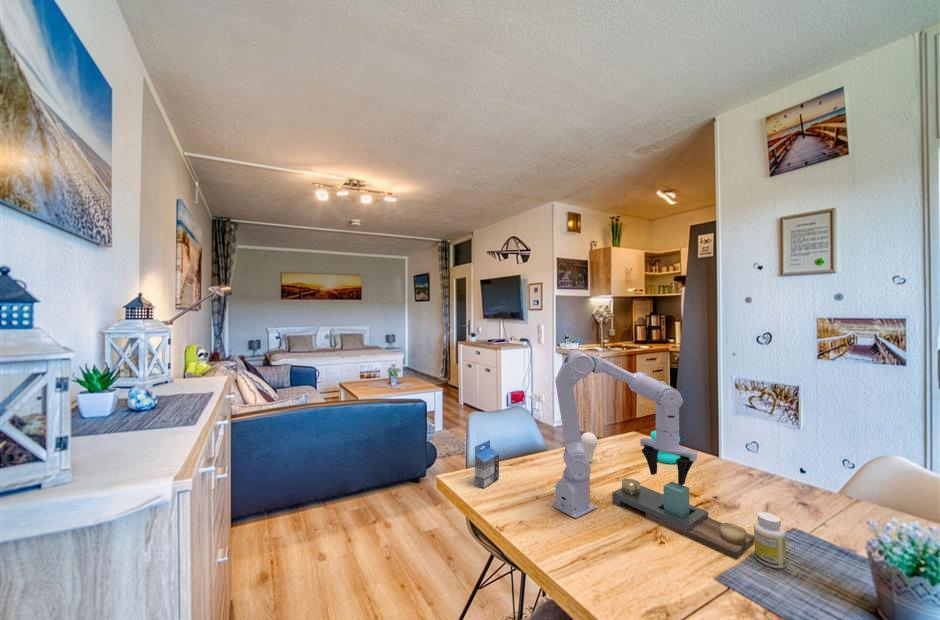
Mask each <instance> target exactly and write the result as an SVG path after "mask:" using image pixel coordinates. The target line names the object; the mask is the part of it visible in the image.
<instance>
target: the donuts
mask: <svg viewBox="0 0 940 620" xmlns="http://www.w3.org/2000/svg"><path fill="white" fill-rule="evenodd" d="M649 436H650V439H652V440H656V429H654V430H653V431H651V432H650V435H649ZM680 442H681V436H679V443H680ZM678 458H680V456H676V455H673V454H670V453H667V452H663V451H660V450H659V452H658V458H657V462H658V463H659V462H660V463H662V464H668V463H670V464H672V465H673V463H674V464H677V463H676V459H678Z"/></svg>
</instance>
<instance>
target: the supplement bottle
mask: <svg viewBox="0 0 940 620" xmlns="http://www.w3.org/2000/svg"><path fill="white" fill-rule="evenodd" d="M781 522H782V521H781V518H780V517H779V516H777V515H775V514H773V513H770V512H761V511H760V512H758V513H757V522H755V523H754V525H753V530H754V531H753V533H754V535H753V536H754V543H753V544H754V557H755V559H756V560H757V561H758V562H760V563H761V564H763V565H764V566H767V567H770V568H772V569H783V568H785V567H786V565H787V562H786V559H787V556H786V554H787V553H786V533H785V531H784V530H783V529H782V528H781V525H782V524H781Z"/></svg>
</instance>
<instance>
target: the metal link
mask: <svg viewBox="0 0 940 620" xmlns="http://www.w3.org/2000/svg"><path fill="white" fill-rule="evenodd" d="M611 494H612V495H611V501H612V502H611V503H612V504H614V505H616V506H619V507H622V506H624V505H625V504H626V505H628V506H630V507H632V508H635V509H637V510H639V511H642V512H644V513H645V514H646V513H648V514H650V515H653V516H655V517H657V518H659V519H662V520H664V521H666V522H668V523H671V524H673V525H675V526H677V527H680V528H682V529H684V530H686V531H688V532H689V531H691V530H692V529H693V528H695V527H696V526H697V525H699V524H700V523H702V522H703V521H704V520H706V519H707V518H709V511H708V510H705V509H702V508H699V507H698V506H695V505H692V504H690V503H689V514H691V515H689V516H688V517H686V518H685V519H683V518H680V517H678V516H676V515H673V514H671V513H669V512H666V511H664V493H661V492H658V491H656V490H654V489H651V488H649V487H647V486H644V485H641V482H639V481H638V480H636V479H634V478H623V479H622V480H621V487H620V488H619V489H616V490H614V491H612V493H611Z"/></svg>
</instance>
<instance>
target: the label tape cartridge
mask: <svg viewBox="0 0 940 620" xmlns="http://www.w3.org/2000/svg"><path fill="white" fill-rule="evenodd" d="M498 480H500V454H499V453H498V452H496V451H495V450H494V449H493V448H492V447H491V440H490V439H489V440H486V441H485V442H483V443H481V444H478V445H476V446H474V486H475V487H478V488H481V489H485V488H487V487H489V485H492V484H493V483H495V482H496V481H498Z"/></svg>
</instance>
